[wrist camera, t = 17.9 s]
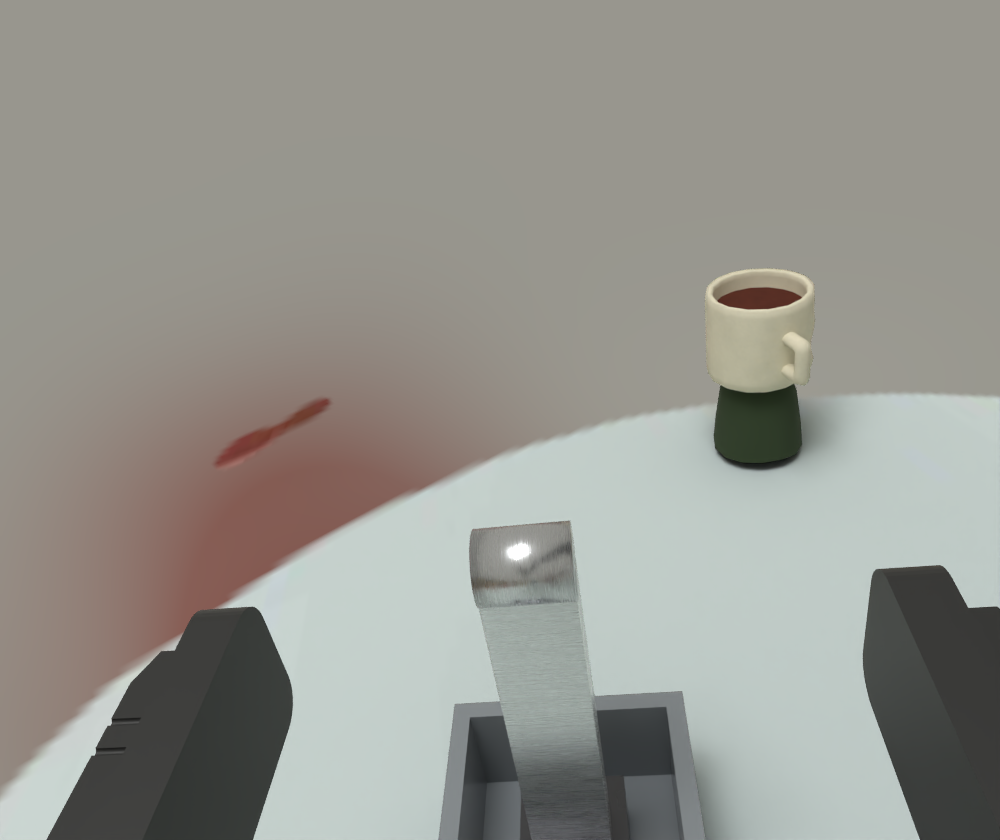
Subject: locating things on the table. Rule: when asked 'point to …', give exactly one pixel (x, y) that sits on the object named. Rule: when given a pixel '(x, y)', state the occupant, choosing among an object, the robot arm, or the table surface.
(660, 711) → the holder
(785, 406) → the character mug
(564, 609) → the brushed steel column
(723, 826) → the table surface
